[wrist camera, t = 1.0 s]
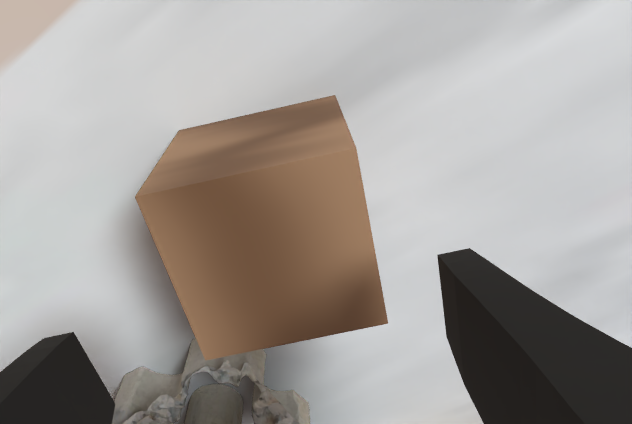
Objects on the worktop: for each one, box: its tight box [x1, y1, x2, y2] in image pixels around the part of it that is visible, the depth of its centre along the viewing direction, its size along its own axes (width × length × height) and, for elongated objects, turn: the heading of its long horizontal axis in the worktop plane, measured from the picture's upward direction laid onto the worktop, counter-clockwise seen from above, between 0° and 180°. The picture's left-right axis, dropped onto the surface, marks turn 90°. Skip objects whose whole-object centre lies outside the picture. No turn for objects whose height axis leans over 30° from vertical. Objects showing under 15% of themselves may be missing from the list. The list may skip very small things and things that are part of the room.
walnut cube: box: [135, 95, 388, 361], centre depth 14 cm, size 5×5×5 cm
